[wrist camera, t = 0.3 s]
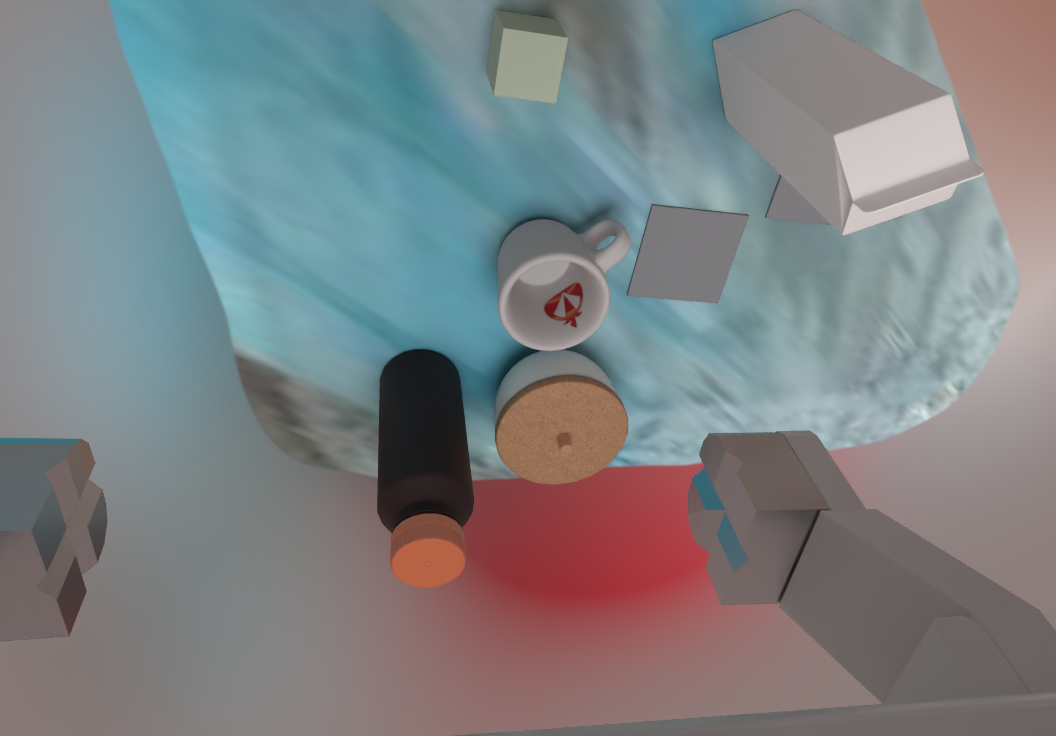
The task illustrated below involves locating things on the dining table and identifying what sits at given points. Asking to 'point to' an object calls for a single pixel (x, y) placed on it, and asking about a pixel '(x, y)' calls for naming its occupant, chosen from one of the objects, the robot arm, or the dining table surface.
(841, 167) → the milk
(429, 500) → the vinegar
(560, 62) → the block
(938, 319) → the dining table surface
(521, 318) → the cup
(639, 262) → the thin grey square tile
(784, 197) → the grey square coaster
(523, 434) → the lidded jar
